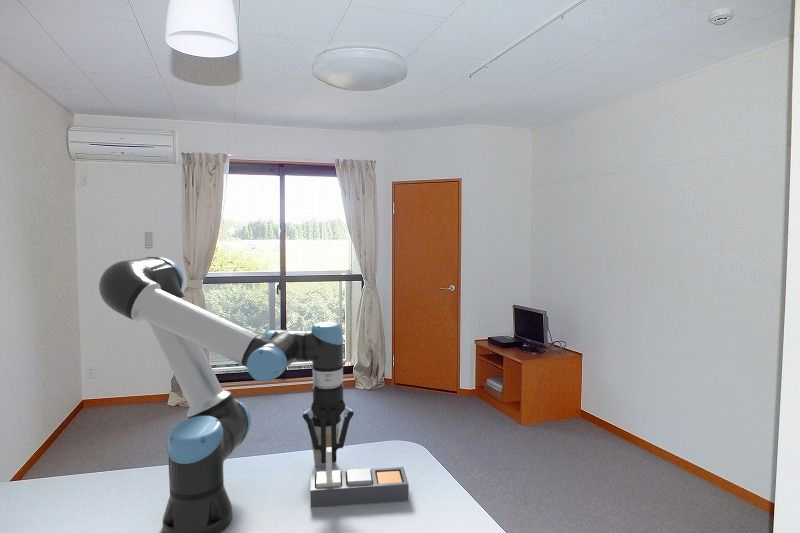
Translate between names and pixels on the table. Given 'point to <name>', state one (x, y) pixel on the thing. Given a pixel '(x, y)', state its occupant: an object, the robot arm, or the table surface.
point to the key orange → (388, 477)
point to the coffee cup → (328, 438)
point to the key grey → (359, 477)
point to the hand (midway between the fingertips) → (329, 474)
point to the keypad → (359, 491)
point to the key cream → (328, 479)
